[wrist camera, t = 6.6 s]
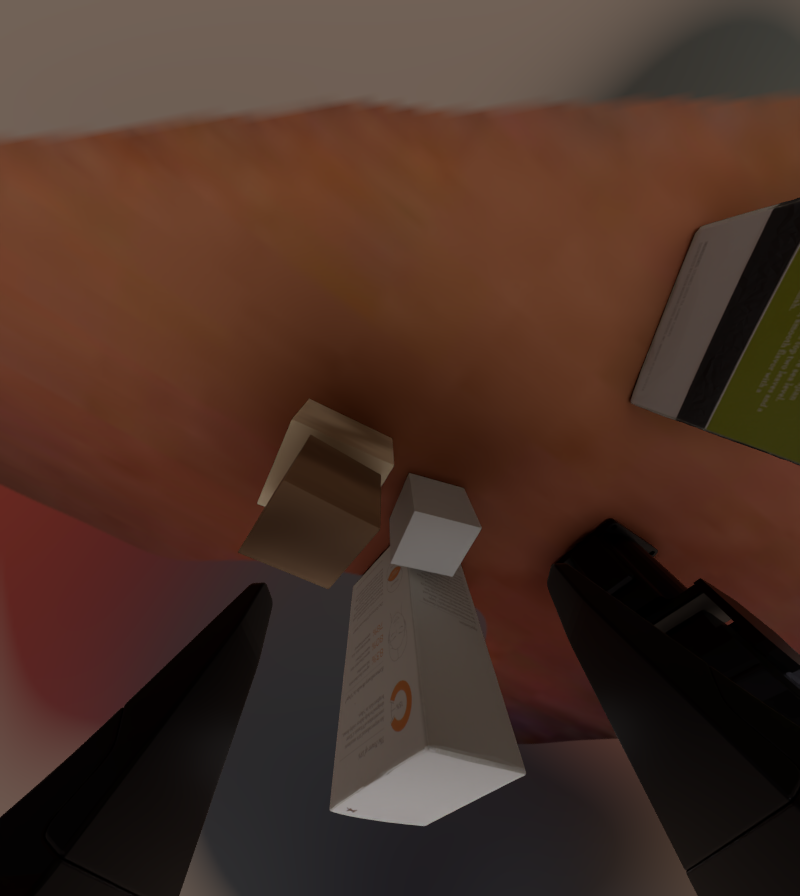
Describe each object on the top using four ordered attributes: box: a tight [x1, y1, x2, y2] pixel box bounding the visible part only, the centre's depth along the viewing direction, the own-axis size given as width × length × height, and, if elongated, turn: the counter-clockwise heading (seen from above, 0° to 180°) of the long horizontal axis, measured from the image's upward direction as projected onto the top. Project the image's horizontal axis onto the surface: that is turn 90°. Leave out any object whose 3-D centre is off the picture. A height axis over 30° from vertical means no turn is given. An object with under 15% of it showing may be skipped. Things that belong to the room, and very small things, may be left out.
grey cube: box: [389, 473, 482, 577], centre depth 20 cm, size 4×4×4 cm
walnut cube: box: [238, 435, 381, 589], centre depth 14 cm, size 4×4×4 cm
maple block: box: [257, 399, 394, 507], centre depth 18 cm, size 6×6×4 cm
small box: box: [330, 547, 526, 826], centre depth 19 cm, size 8×6×13 cm
